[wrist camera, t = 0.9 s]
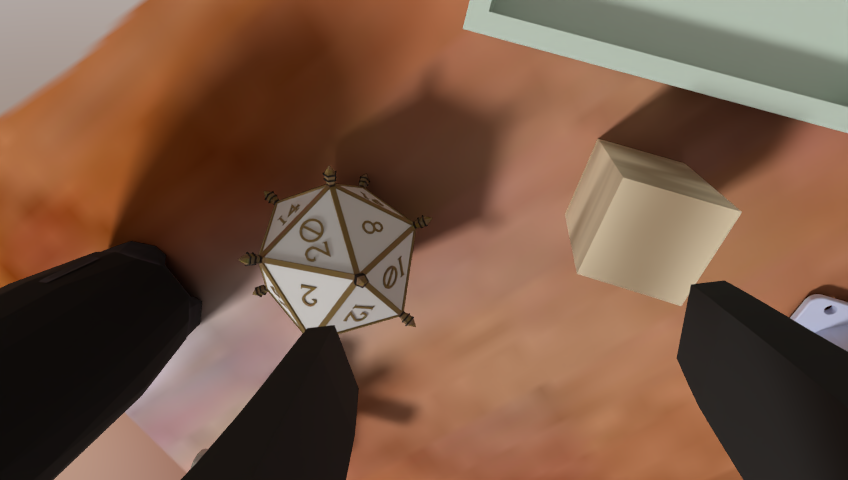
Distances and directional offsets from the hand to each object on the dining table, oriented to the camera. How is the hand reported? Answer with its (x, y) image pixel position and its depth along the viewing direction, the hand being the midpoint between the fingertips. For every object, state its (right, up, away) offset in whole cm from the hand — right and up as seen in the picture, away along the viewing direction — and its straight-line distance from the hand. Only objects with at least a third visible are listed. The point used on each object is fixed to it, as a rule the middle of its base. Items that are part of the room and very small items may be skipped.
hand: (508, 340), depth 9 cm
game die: (-5, +3, +16) cm, 17 cm away
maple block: (+8, +5, +12) cm, 15 cm away
